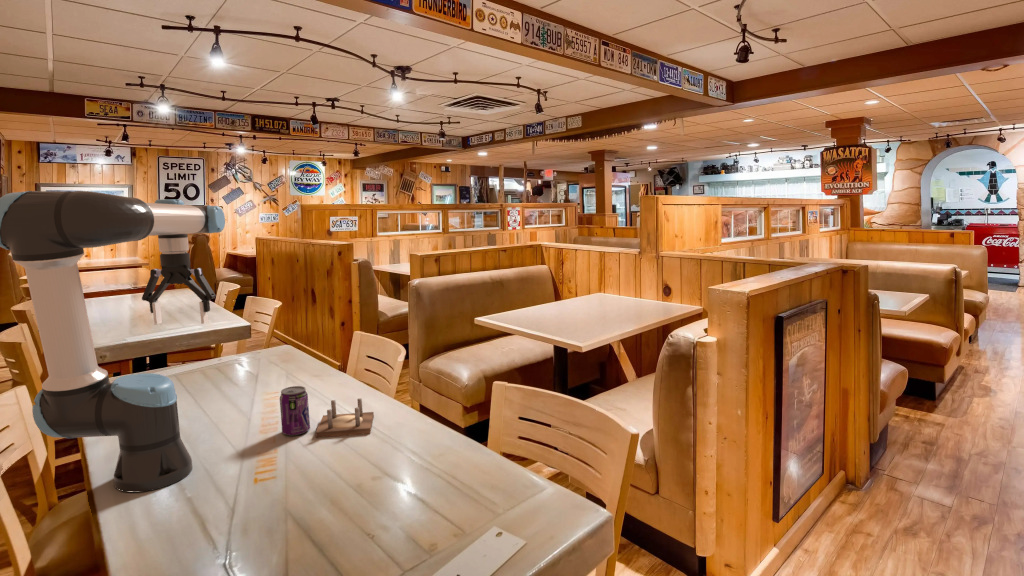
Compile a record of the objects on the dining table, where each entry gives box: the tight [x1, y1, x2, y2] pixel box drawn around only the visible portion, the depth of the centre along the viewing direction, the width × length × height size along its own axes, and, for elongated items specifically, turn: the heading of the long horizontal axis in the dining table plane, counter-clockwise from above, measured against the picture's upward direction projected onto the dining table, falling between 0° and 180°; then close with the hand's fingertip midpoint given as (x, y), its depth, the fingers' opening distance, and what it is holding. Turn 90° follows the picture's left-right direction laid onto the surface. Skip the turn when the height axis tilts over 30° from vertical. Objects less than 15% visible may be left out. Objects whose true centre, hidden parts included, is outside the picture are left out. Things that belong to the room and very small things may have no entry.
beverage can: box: [279, 385, 311, 437], centre depth 151 cm, size 7×7×12 cm
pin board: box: [315, 397, 375, 439], centre depth 155 cm, size 12×14×6 cm
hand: (181, 323), depth 168 cm, fingers open, 13 cm apart
